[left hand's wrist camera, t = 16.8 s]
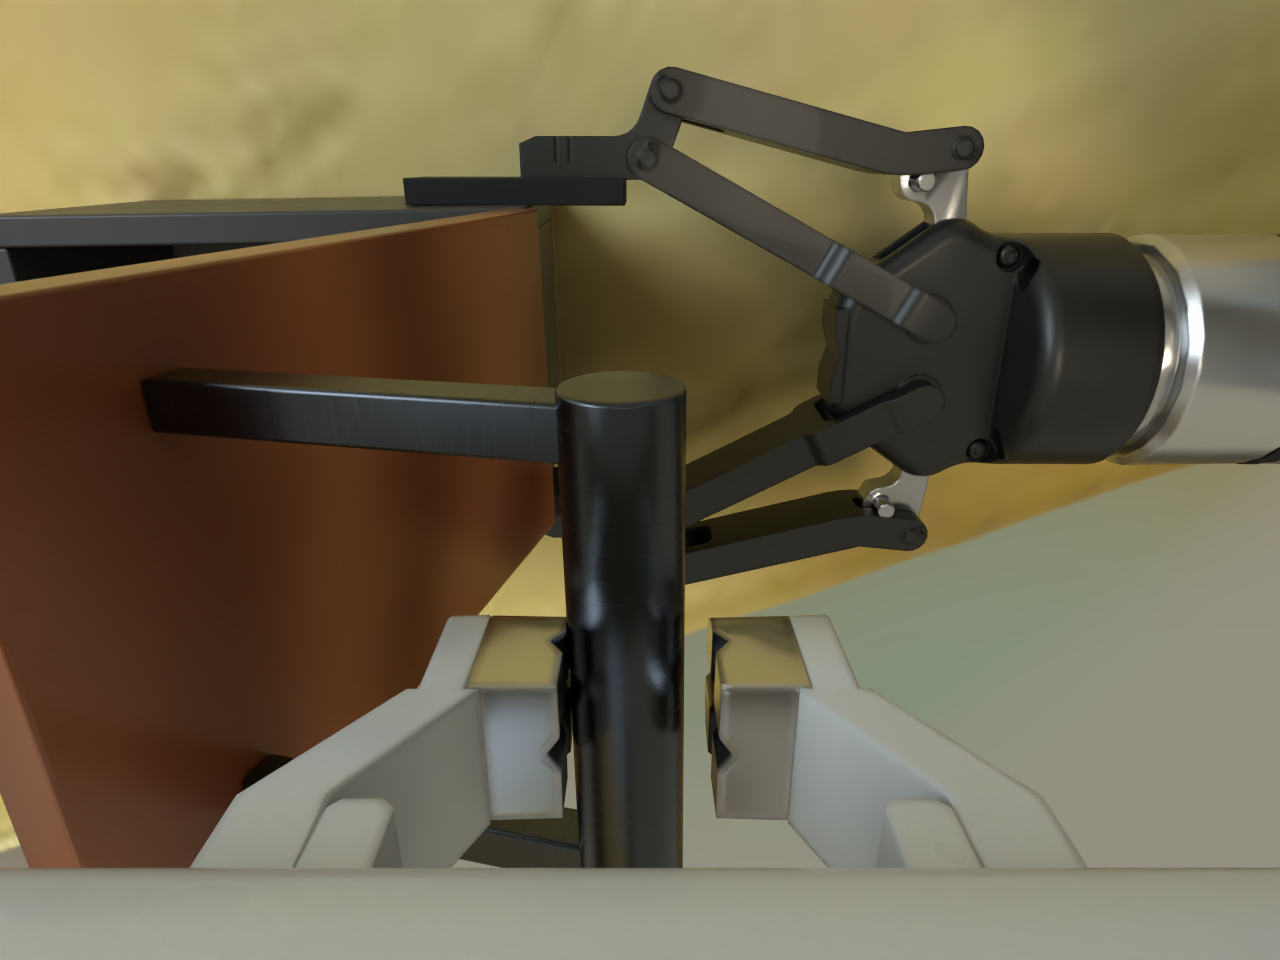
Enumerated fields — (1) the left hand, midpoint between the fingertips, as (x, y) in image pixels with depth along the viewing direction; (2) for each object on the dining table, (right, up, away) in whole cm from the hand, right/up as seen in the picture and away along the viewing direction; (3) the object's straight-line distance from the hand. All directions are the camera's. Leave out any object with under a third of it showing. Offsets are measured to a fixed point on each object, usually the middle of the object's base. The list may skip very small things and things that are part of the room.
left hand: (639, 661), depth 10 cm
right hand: (-7, +7, +16) cm, 19 cm away
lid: (-6, +2, +6) cm, 9 cm away
